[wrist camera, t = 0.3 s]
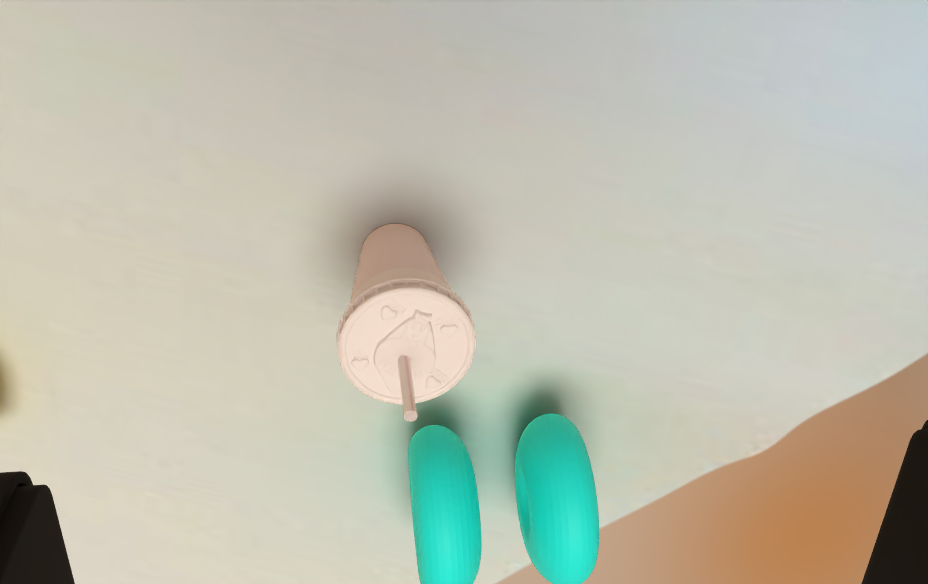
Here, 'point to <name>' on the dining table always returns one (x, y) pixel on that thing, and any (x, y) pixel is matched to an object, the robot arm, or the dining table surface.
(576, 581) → the donuts
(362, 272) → the smoothie
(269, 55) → the dining table surface
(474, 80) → the dining table surface
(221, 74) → the dining table surface
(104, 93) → the dining table surface
